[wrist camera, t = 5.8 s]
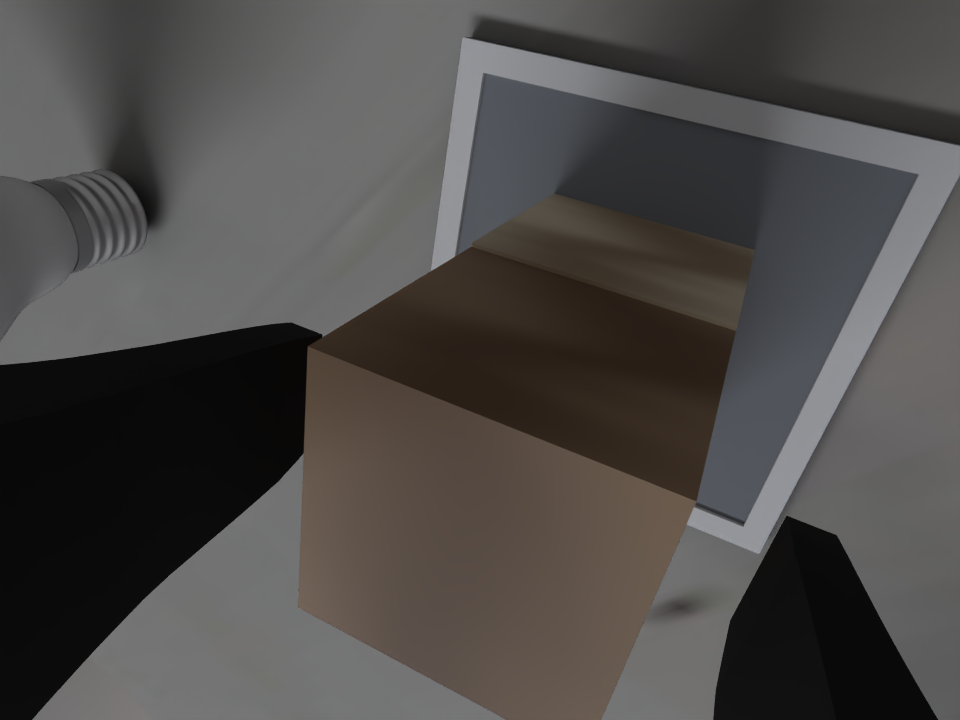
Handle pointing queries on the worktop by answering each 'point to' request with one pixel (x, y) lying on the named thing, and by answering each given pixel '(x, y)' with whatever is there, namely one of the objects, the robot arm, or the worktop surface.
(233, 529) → the worktop surface
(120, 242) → the lightbulb
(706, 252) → the beech block
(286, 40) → the worktop surface
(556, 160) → the grey square tray
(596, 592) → the walnut block
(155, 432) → the robot arm
